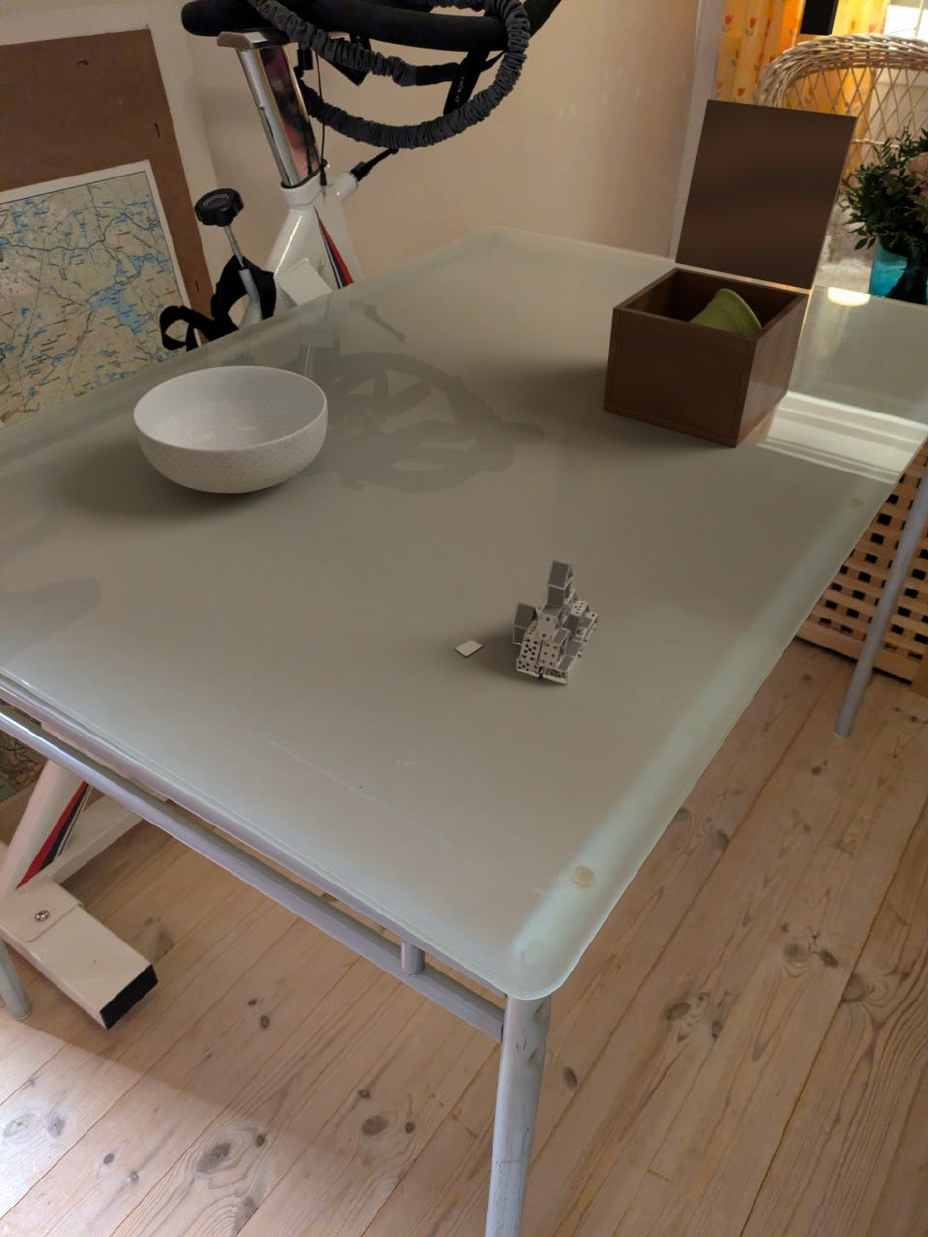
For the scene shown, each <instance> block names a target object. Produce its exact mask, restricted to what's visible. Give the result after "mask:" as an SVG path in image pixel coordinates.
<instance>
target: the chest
mask: <svg viewBox="0 0 928 1237" xmlns="http://www.w3.org/2000/svg"><path fill="white" fill-rule="evenodd" d="M720 289H729V290H731V291H733V292H735V293H736V294H737V295H738V296H739V297H741V298H742V299H743V300H744V302H745V303H746V304H747V305H748V306H749V308H750V309H751V310H752V312H753V313H754V315H755V316H756V318H757V320H758V321H759V323H760V325H761V327H762V329H760V330H759V331H758V332H757V333H756V334H755V335H754V336H752V337H751V336H746V335H742V334H738V333H733V332H729V331H725V330H720V329H716V328H712V327H707V326H703V325H698V324H694V323H690V321H691V320H692V319H693V318H695V317H696V316H697V315H698V314H700V313H701V312H702V311H703V310H704V309H705V308H706V306H707V305H708V304H709V303H710V302H711V301H712V300H713V299H714V296H715V294H716V293H717V291H719V290H720ZM809 298H810V293H805V292H800V291H796V290H790V289H785V288H780V287H775V286H771V285H766V284H760V283H756V282H751V281H746V280H741V279H737V278H736V279H735V278H731V277H727V276H721V275H717V274H711V273H707V272H701V271H697V270H692V269H687V268H681V267H677V266H675V267H673V268H671V269H670V270H669V271H667V272H665V273H664V274H662V275H661V276H660V277H658V278H656V279H655V280H654V281H652V282H651V283H649V284H647V285H646V286H644V287H643V288H641V289H639V290H638V291H636V292H635V293H634V294H632V295H630V296H629V297H628V298H626V299H625V300H623V301H621V302H620V303H619V304H617V305H615V306H614V307H613V308H612V314H611V324H610V333H609V343H608V352H607V354H608V355H607V364H606V375H605V383H604V392H603V393H604V394H603V406H602V410H603V411H606V412H609V413H614V414H617V415H620V416H624V417H627V418H630V419H633V420H637V421H641V422H645V423H648V424H652V425H655V426H659V427H663V428H665V429H669V430H673V431H676V432H680V433H683V434H687V435H690V436H693V437H697V438H701V439H704V440H708V441H711V442H715V443H719V444H722V445H725V446H729V447H732V448H737V447H738V446H739V445H740V444H741V443H742V442H743V441H744V440H745V438H747V436H748V435H750V433H751V432H752V431H753V430H754V429H755V428H756V427H757V426H758V425H759V424H760V423H761V422H762V421H763V420H764V418H765V417H766V416H767V415H768V414H769V413H771V411H772V410H773V409H774V408H775V407H776V406H777V405H778V404H779V403H780V402H781V401H782V399H784V397H785V396H786V395H787V393H788V391H789V387H790V381H791V377H792V373H793V369H794V365H795V360H796V356H797V352H798V351H797V350H798V347H799V342H800V337H801V333H802V328H803V325H804V321H805V316H806V312H807V307H808V303H809Z"/></svg>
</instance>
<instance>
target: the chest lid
mask: <svg viewBox="0 0 928 1237" xmlns="http://www.w3.org/2000/svg"><path fill="white" fill-rule="evenodd" d="M859 118H860V117H859V116H854V115H847V114H846V115H845V114H837V113H829V112H820V111H814V110H813V111H811V110H805V109H804V110H803V109H796V108H787V107H778V106H769V105H762V104H753V103H752V104H751V103H744V102H735V101H727V100H719V99H710V98H709V99H707V100H706V107H705V110H704V114H703V120H702V125H701V129H700V135H699V139H698V146H697V149H696V156H695V160H694V165H693V169H692V175H691V180H690V185H689V190H688V195H687V200H686V205H685V210H684V215H683V220H682V223H681V224H682V225H681V230H680V235H679V240H678V245H677V250H676V254H675V260H674V263H675V264H679V265H683V266H688V267H693V268H699V269H704V270H708V271H714V272H718V273H723V274H729V275H734V276H738V277H743V278H748V279H753V280H759V281H763V282H767V283H773V284H778V285H783V286H786V287H787V286H788V287H791V288H792V287H793V288H799V289H803V290H808V291H811V290H813V286H814V283H815V280H816V276H817V272H818V268H819V264H820V260H821V257H822V254H823V250H824V246H825V243H826V238H827V235H828V231H829V228H830V224H831V220H832V216H833V213H834V209H835V205H836V203H837V198H838V195H839V191H840V188H841V184H842V180H843V176H844V174H845V169H846V166H847V162H848V158H849V154H850V151H851V147H852V144H853V140H854V136H855V132H856V129H857V126H858V121H859Z"/></svg>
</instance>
